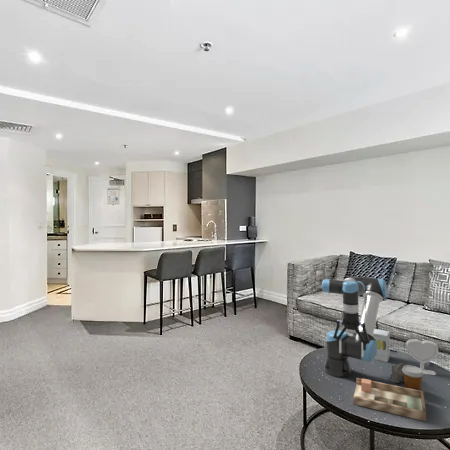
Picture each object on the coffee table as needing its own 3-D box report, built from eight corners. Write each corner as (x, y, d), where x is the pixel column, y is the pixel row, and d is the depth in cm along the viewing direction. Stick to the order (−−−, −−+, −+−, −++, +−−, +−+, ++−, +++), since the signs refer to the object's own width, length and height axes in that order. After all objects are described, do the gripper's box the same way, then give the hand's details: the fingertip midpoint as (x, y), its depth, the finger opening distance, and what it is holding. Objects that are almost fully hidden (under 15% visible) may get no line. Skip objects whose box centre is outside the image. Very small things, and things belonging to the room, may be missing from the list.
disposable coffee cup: (423, 399, 157) (423, 375, 157) (401, 394, 162) (401, 370, 162) (423, 390, 165) (423, 367, 165) (402, 385, 170) (402, 363, 170)
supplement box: (371, 358, 202) (370, 332, 202) (373, 353, 210) (373, 328, 209) (387, 362, 197) (387, 335, 196) (390, 357, 204) (389, 331, 204)
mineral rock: (414, 377, 178) (414, 359, 178) (419, 387, 168) (419, 368, 168) (388, 374, 182) (388, 357, 182) (392, 384, 172) (391, 365, 172)
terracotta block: (361, 390, 162) (361, 382, 162) (362, 386, 166) (361, 378, 165) (370, 392, 160) (370, 384, 160) (371, 388, 164) (371, 380, 163)
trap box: (353, 403, 155) (353, 392, 155) (356, 387, 169) (356, 377, 169) (425, 421, 141) (425, 409, 141) (423, 402, 155) (422, 391, 155)
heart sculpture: (407, 370, 186) (407, 340, 185) (406, 367, 190) (406, 337, 190) (438, 375, 179) (438, 344, 179) (437, 371, 184) (436, 340, 184)
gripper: (326, 311, 167) (327, 352, 167) (374, 316, 156) (375, 361, 157) (329, 307, 173) (330, 347, 174) (375, 312, 163) (375, 355, 163)
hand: (351, 353), depth 165 cm, fingers open, 10 cm apart
